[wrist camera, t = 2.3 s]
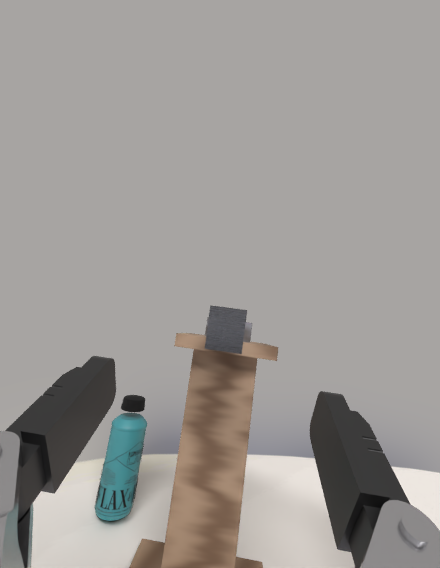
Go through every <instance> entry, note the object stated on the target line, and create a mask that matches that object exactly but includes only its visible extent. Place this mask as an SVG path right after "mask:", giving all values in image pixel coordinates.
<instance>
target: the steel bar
mask: <svg viewBox="0 0 440 568" xmlns="http://www.w3.org/2000/svg"><path fill="white" fill-rule="evenodd" d="M246 315H247V310H240V309H233V308H225V307H218V306H210V313H209V320H208V327H207V335H206V342H205V349H209V350H216V351H223V352H230V353H237V354H242V348H243V339H244V331H245V323H246Z"/></svg>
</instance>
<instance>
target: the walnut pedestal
mask: <svg viewBox="0 0 440 568" xmlns="http://www.w3.org/2000/svg"><path fill="white" fill-rule="evenodd" d="M208 320H209V317H208V319H207V325H206V333H205V335H199V334H191V333H177V334H176V341H175V346H178V347H184V348H192V349H194V352H193V359H192V365H191V372H190V379H189V385H188V393H187V399H186V406H185V412H184V419H183V425H182V432H181V439H180V446H179V452H178V459H177V465H176V472H175V479H174V485H173V492H172V499H171V505H170V512H169V519H168V525H167V532H166V539H165V543H163V542H157V541H152V540H147V539H142V540H141V543H140V545H139V547H138V549H137V552H136V554H135V556H134V558H133V561H132V563H131V565H130V568H263V566H262V562H259V561H254V560H249V559H244V558H239V557H236V550H237V541H238V532H239V523H240V513H241V504H242V495H243V485H244V476H245V467H246V458H247V448H248V439H249V430H250V420H251V411H252V401H253V393H254V383H255V374H256V365H257V358H262V359H268V360H275V361H277V354H278V347H274V346H271V345H267V344H263V343H256V342H250V338H251V329H252V323H249V322H246V323H245V331H244V339H243V348H242V354H237V353H230V352H223V351H216V350H209V349H205V342H206V335H207V327H208Z"/></svg>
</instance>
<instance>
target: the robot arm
mask: <svg viewBox="0 0 440 568" xmlns="http://www.w3.org/2000/svg"><path fill="white" fill-rule="evenodd" d="M115 393H116V381H115V362H114V359H111V358H104V357H98V356H93V357H91V358H90V360H88V362H86V363H85V364H84V365H83V366H82V368H80V367H76V368H74V369H72V370H70V371H69V372H67V373H65V374H63V375H62V376H61V377H60V378H59V379H58V380H57V381H56V382H55V383H54V384H53V385H52V387H50V388H49V389H48V390H47V391H46V392H45V393H44V394H43V396H40V397H39V398H38V399H37V400H36V401H35V402H34V403H33V404H32V405H31V406H30V407H29V408H28V409H27V410H26V411H25V412H24V413H23V414H22V415H21V416H20V417H19V418H18V419H17V420H16V421H15V422H14V423H13V424H12V425H11V426H10V427H9V428H7V430H6V431H0V568H31V552H32V527H33V502H34V500H35V499H36V497H37V496H38V495H39V493H40V492H41V491H44V492H49V493H54V494H55V492H56V490H57V489H58V487H59V486H60V484H61V483H62V481H63V480H64V478H65V477H66V475H67V474H68V472H69V470H70V469H71V467H72V466H73V464H74V463H75V461H76V460H77V458H78V456H79V455H80V454H81V452H82V450H83V449H84V447H85V446H86V444H87V443H88V441H89V440H90V438H91V436H92V435H93V434H94V432H95V430H96V429H97V427H98V426H99V424H100V423H101V421H102V420H103V418H104V417H105V415H106V414H107V412H108V410H109V409H110V407H111V405H112V403H113V401H114V398H115ZM310 439H311V444H312V448H313V452H314V456H315V460H316V464H317V468H318V472H319V477H320V481H321V485H322V489H323V493H324V497H325V501H326V505H327V509H328V513H329V517H330V522H331V526H332V530H333V534H334V538H335V542H336V546H337V549H338V550H343V551H348V552H351V553H352V556H353V560H354V563H355V567H354V568H440V531H439V529H438V528H437V527H436V525H435V524H434V523H433V522H432V521H431V520H430V519H429V518H428V517H427V516H426V515H425V514H424V513H422V512H421V511H420V510H418V509H417V508H415V507H414V506H412V505H411V504H410V503H409V501H408V499H407V497H406V495H405V493H404V491H403V489H402V487H401V485H400V483H399V481H398V479H397V477H396V476H395V474H394V472H393V470H392V468H391V466H390V464H389V462H388V460H387V458H386V456H385V454H383V450H382V448H381V446H380V444H379V442H378V441H376V437H375V435H374V433H373V431H372V429H371V427H370V425H369V424H368V423H367V422H366V420H365V419H364V418H362V416H361V415H360V414H359V413H358V412H356V411H350V409H349V407H348V405H347V403H346V400H345V398H344V396H343V395H341V394H336V393H329V392H322V391H321V392H320V393H319V395H318V398H317V401H316V405H315V409H314V412H313V416H312V419H311V423H310Z"/></svg>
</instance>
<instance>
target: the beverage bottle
mask: <svg viewBox="0 0 440 568" xmlns="http://www.w3.org/2000/svg"><path fill="white" fill-rule="evenodd" d="M144 407H145V398H144V397H142V396H137V395H128V396H125V397H124V399H123V403H122V406H121V409H122V410H124V411H128V412H140V411H143V410H144ZM146 427H147V422H146V420H145V419H144V417H143V416H141V415H140V414H137V413H124V414H121V415H119V416H118V417H117V418H115V419H114V420H113V422H112V428H111V432H110V437H109V443H108V447H107V452H106V457H105V461H104V465H103V469H102V470H103V471H101V472H102V474H101V475H102V476H101V481H100V485H99V488H98V489H99V491H98V492H97V494H98V496H96V499H97V500H96V505H95V512H96V515H97V516H98V517H99V518H101V519H103V520H108V521H113V520H118V519H121V518H123V517H125V516H127V515H128V514H129V512H130V511H131V508H132V505H134V504H133V501H134V499H135V496H134V494H135V491H136V488H137V487H136V486H137V482H138V479H137V477H138V472H139V466H140V460H141V454H142V451H143V450H142V449H143V442H144V436H145V431H146Z"/></svg>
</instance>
